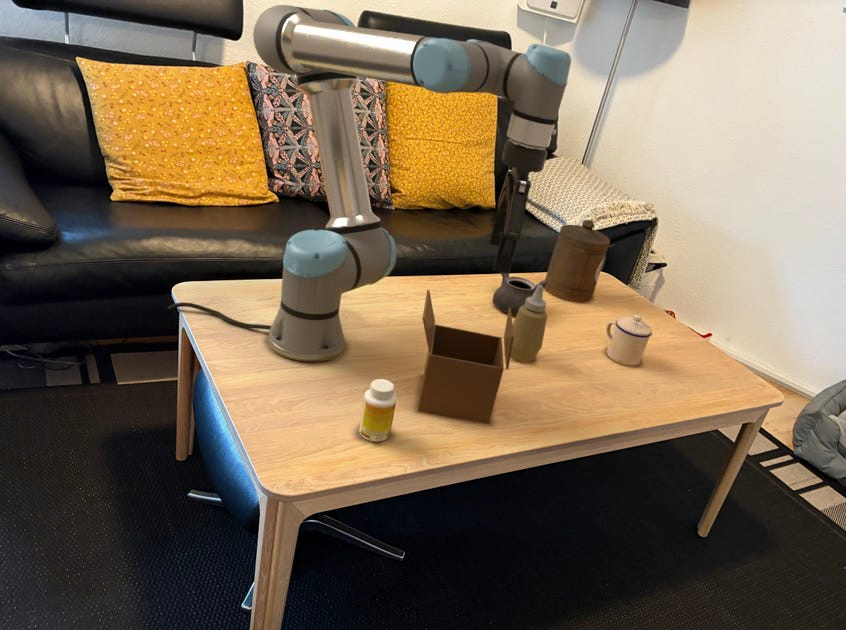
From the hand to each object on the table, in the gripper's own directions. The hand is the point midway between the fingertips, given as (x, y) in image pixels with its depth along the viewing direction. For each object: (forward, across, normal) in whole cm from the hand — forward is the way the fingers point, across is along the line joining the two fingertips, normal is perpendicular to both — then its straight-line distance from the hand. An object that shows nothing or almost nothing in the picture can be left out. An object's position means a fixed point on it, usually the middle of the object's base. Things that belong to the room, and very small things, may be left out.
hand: (498, 257), depth 126 cm
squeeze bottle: (+29, +18, -14) cm, 37 cm away
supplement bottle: (+29, -21, +17) cm, 40 cm away
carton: (+29, -6, +2) cm, 30 cm away
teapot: (+29, +48, -14) cm, 58 cm away
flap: (+13, -5, +10) cm, 17 cm away
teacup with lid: (+29, +28, -40) cm, 57 cm away
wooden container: (+29, +64, -32) cm, 77 cm away
